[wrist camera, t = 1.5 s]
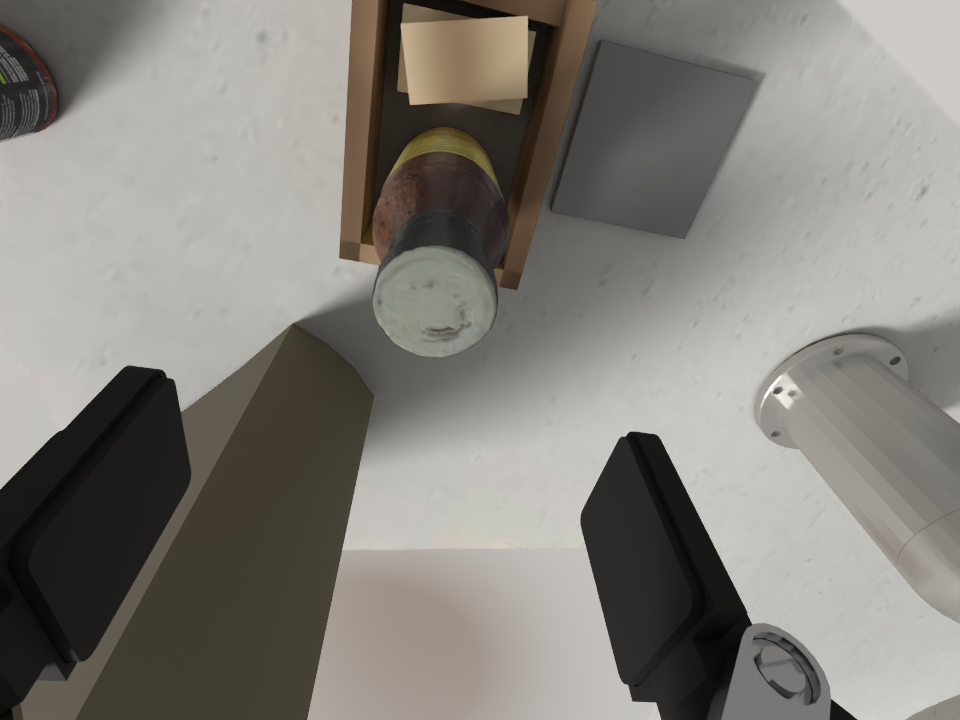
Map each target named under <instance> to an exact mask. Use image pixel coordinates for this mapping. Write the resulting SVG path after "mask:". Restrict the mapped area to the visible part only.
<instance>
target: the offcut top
mask: <svg viewBox="0 0 960 720" xmlns="http://www.w3.org/2000/svg"><path fill="white" fill-rule="evenodd" d="M400 25H401V33H402V42H403V50H404V59H405V67H406V76H407V84H408V93H409V101H410V105H419V104H435V103H452V102H469V101H485V100H502V99H518V98H527V80H528V16H518V17H501V18H485V19H468V20H452V21H435V22H418V23H402V24H400Z"/></svg>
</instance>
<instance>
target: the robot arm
mask: <svg viewBox="0 0 960 720" xmlns="http://www.w3.org/2000/svg"><path fill="white" fill-rule="evenodd" d="M908 376H909V365H908V362H907V360H906V357H905V356H904V354H903V353H902V352H901V351H900V350H899V349H898V348H897V347H895V346H894V345H893V344H891V343H890V342H889V341H887V340H885V339H882V338H880V337H878V336H873V335H867V334H849V335H843V336H837V337H833V338H830V339H827V340H823V341H820V342H818V343H816V344H813V345H811V346H809V347H807V348H805V349H803V350H801V351H800V352H798V353H796V354H795V355H793V356H792V357H790V358H789V359H788V360H786V361H785V362H784V363H783V364H781V365H780V366H779V367H778V368H777V369H776V370H775V371H774V372H773V373H772V374H771V375H770V376H769V378H768V379H767V381H766V382H765V383H764V385H763V386H762V388H761V390H760V392H759V394H758V396H757V399H756V403H755V419H756V422H757V425H758V426H759V427H760V429H761V430H762V432H763V433H764V434H765V436H766V437H767V438H768V439H769V440H771V441H772V442H774V443H776V444H778V445H781V446H784V447H786V448H793V449H799V450H800V451H801V452H802V453H803V454H804V456H805V457H806V458H807V459H808V461H809V462H810V463H811V464H812V466H813V467H814V468H815V469H816V471H817V472H818V473H819V474H820V475H821V477H822V478H823V479H824V480H825V482H826V483H827V484H828V485H829V487H830V488H831V489H832V490H833V492H834V493H835V494H836V495H837V496H838V498H839V499H840V500H841V501H842V503H843V504H844V505H845V506H846V508H847V509H848V510H849V511H850V513H851V514H852V515H853V516H854V517H855V519H856V520H857V521H858V522H859V524H860V525H861V526H862V527H863V529H864V530H865V531H866V532H867V534H868V535H869V536H870V537H871V538H872V540H873V541H874V542H875V543H876V545H877V546H878V547H879V548H880V550H881V551H882V552H883V553H884V554H885V556H886V557H887V558H888V559H889V561H890V562H891V563H892V564H893V565H894V567H895V568H896V569H897V570H898V571H899V573H900V574H901V575H902V576H903V578H904V579H905V580H906V581H907V582H908V584H909V585H910V586H911V587H912V589H913V590H914V591H915V592H916V593H917V594H918V595H919V596H920V597H921V598H922V599H923V600H924V601H925V602H927V603H928V604H929V605H930V606H931V607H933V608H934V609H936V610H937V611H938V612H940V613H941V614H943V615H944V616H946V617H948V618H950V619H952V620H954V621H955V622H957V623H960V423H958V422H957V421H956V420H955V419H953V418H952V417H951V416H950V415H948V414H947V413H946V412H944V411H943V410H942V409H941V408H939V407H938V406H937V405H935V404H934V403H933V402H932V401H930V400H929V399H928V398H927V397H925V396H924V395H923V394H921V393H920V392H919V391H918V390H916V389H915V388H914V387H913V386H911V385H910V384H909V383H907V380H908ZM190 480H191V466H190V461H189V455H188V450H187V444H186V439H185V434H184V428H183V423H182V417H181V412H180V407H179V401H178V396H177V390H176V385H175V382H174V380H173V379H170V378H167V377H166V374H165V372H164V371H163V370H159V369H152V368H144V367H136V366H126V367H125V368H123V369H122V370H121V371H120V372H119V373H118V374H117V375H116V376H115V377H114V378H113V379H112V380H111V381H110V382H109V383H108V384H107V385H106V386H105V388H104V389H103V390H102V391H101V392H100V393H99V394H98V395H97V396H96V397H95V398H94V399H93V400H92V401H91V402H90V403H89V404H88V405H87V406H86V407H85V408H84V409H83V410H82V411H81V412H80V413H79V414H78V416H77V417H76V418H75V419H74V420H73V421H72V422H71V423H70V424H69V425H68V426H67V427H66V428H65V429H64V430H62V431H59V432H58V433H56V434H55V435H54V436H53V437H52V438H50V440H48V441H47V443H45V445H44V446H43V447H42V448H41V449H40V450H39V451H38V452H37V453H36V454H35V455H34V456H33V457H32V458H31V459H30V460H29V461H28V462H27V463H26V464H25V465H24V466H23V467H22V468H21V469H20V470H19V471H18V472H17V473H16V474H15V475H14V476H13V477H12V478H11V479H10V480H9V481H8V482H7V483H6V484H5V486H3V487H2V489H1V490H0V720H23V716H22V710H21V704H20V703H21V702H23V701H24V699H25V697H26V696H27V694H28V693H29V691H30V690H31V688H32V686H33V685H34V683H35V682H36V680H43V681H67V679H68V678H69V676H70V674H71V673H72V671H73V669H74V668H75V666H76V664H77V663H78V662H84V661H86V660H87V659H88V658H89V657H90V656H91V655H92V654H93V652H94V651H95V649H96V648H97V646H98V644H99V642H100V641H101V639H102V637H103V635H104V634H105V632H106V630H107V628H108V627H109V625H110V623H111V621H112V620H113V618H114V616H115V614H116V613H117V611H118V609H119V607H120V606H121V604H122V602H123V601H124V599H125V597H126V595H127V594H128V592H129V590H130V588H131V587H132V585H133V583H134V581H135V580H136V578H137V576H138V574H139V573H140V571H141V569H142V567H143V566H144V564H145V562H146V560H147V559H148V557H149V555H150V553H151V552H152V550H153V548H154V546H155V545H156V543H157V541H158V540H159V538H160V536H161V534H162V533H163V531H164V529H165V527H166V526H167V524H168V522H169V520H170V519H171V517H172V515H173V513H174V512H175V510H176V508H177V506H178V505H179V503H180V501H181V499H182V498H183V496H184V494H185V492H186V491H187V489H188V487H189V484H190ZM581 528H582V532H583V536H584V540H585V544H586V548H587V552H588V556H589V560H590V564H591V567H592V571H593V575H594V579H595V583H596V587H597V591H598V595H599V599H600V603H601V606H602V610H603V614H604V618H605V622H606V626H607V630H608V634H609V638H610V641H611V646H612V649H613V653H614V657H615V661H616V665H617V669H618V673H619V676H620V678H621V680H622V682H623V683H624V684H628V686H629V689H630V693H631V697H632V701H636V702H656V703H657V706H658V710H659V713H660V716H661V720H857V719H856V718H855V717H853V716H852V715H851V714H850V713H848V712H847V711H846V710H844V709H843V708H842V707H841V706H839V705H838V704H837V703H836V702H834V701H833V700H832V699H831V695H830V686H829V684H828V681H827V679H826V676H825V674H824V671H823V670H822V668H821V667H820V665H819V664H818V662H817V660H816V659H815V657H814V656H813V655H812V654H811V653H810V652H809V651H808V650H807V648H806V647H805V646H804V645H803V644H802V643H801V642H799V641H798V640H797V639H796V638H794V637H793V636H792V635H791V634H789V633H787V632H785V631H784V630H782V629H780V628H778V627H776V626H772V625H769V624H766V623H761V624H753V625H752V623H751V621H750V619H749V617H748V615H747V611H746V609H745V607H744V605H743V603H742V601H741V599H740V597H739V595H738V593H737V591H736V589H735V587H734V585H733V583H732V581H731V579H730V577H729V575H728V573H727V571H726V569H725V567H724V565H723V563H722V561H721V559H720V557H719V555H718V553H717V551H716V549H715V547H714V545H713V543H712V541H711V539H710V537H709V535H708V533H707V531H706V529H705V527H704V525H703V523H702V521H701V519H700V517H699V515H698V513H697V511H696V509H695V507H694V505H693V503H692V501H691V499H690V497H689V495H688V493H687V491H686V489H685V487H684V485H683V483H682V481H681V479H680V477H679V475H678V473H677V471H676V469H675V467H674V465H673V463H672V461H671V459H670V457H669V455H668V453H667V451H666V449H665V447H664V445H663V443H662V441H661V440H660V438H659V437H658V436H657V435H655V434H648V433H641V432H629V433H628V434H627V436H626V437H621V438H620V439H619V440H618V442H617V444H616V446H615V448H614V450H613V452H612V454H611V456H610V458H609V460H608V461H607V463H606V465H605V467H604V469H603V471H602V473H601V475H600V477H599V479H598V481H597V483H596V485H595V487H594V489H593V491H592V493H591V494H590V496H589V498H588V500H587V502H586V504H585V506H584V508H583V510H582V513H581ZM906 720H960V695H957V696H955V697H952V698H950V699H947V700H945V701H942V702H940V703H938V704H936V705H933V706H931V707H928V708H926V709H924V710H922V711H920V712H918V713H916V714H914V715H912V716H910V717H909V718H908V719H906Z"/></svg>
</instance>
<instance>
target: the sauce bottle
mask: <svg viewBox="0 0 960 720" xmlns="http://www.w3.org/2000/svg"><path fill="white" fill-rule="evenodd" d="M372 230H373V242H374V247H375V250H376V253H377V256H378V257H379V259H380V262H381V264H380V266H379V270H378V273H377V277H376V280H375V284H374V289H373V297H372V302H373V310H374V313H375V317H376V319H377V321H378V323H379V325H380V326H381V327H382V329H383V331H384V332H385V333H386V334H387V335H388V336H389V338H390V339H391V340H392V341H393V342H394V343H395V344H397V345H398V346H400V347H401V348H403V349H405V350H407V351H410V352H412V353H415V354H417V355H420V356H427V357H446V356H450V355H453V354H457V353H460V352H462V351H464V350H467V349H469V348H470V347H472V346H473V345H475V344H476V343H478V342H479V341H480V340H482V338H483V337H484V336H485V335H486V333H487V332H488V331H489V330H490V329H491V327H492V325H493V323H494V321H495V318H496V314H497V305H498V294H497V282H496V277H495V273H494V269H495V268H496V267H497V265H498V264H499V262H500V261H501V259H502V257H503V255H504V253H505V250H506V247H507V244H508V239H509V217H508V212H507V209H506V205H505V202H504V199H503V196H502V193H501V190H500V186H499V184H498V181H497V179H496V175H495V173H494V170H493V167H492V164H491V161H490V159H489V157H488V155H487V153H486V151H485V150H484V148H483V147H482V146H481V145H480V143H479V142H478V141H476V140H475V139H474V138H473V137H471V136H470V135H468V134H467V133H465V132H463V131H460V130H458V129H454V128H449V127H438V128H433V129H429V130H426V131H423V132H421V133H420V134H419V135H417V136H416V137H414V138H413V139H412V140H411V141H410V142H409V143H408V144H407V145H406V147H405V148H404V150H403V151H402V153H401V155H400V157H399V158H398V160H397V162H396V164H395V165H394V167H393V169H392V171H391V173H390V175H389V176H388V178H387V180H386V182H385V184H384V186H383V188H382V190H381V196H380V198H379V200H378V203H377V205H376V207H375V210H374V215H373V228H372Z"/></svg>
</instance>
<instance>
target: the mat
mask: <svg viewBox="0 0 960 720" xmlns="http://www.w3.org/2000/svg"><path fill="white" fill-rule="evenodd" d="M757 83H758V81H754V80H750V79H747V78H743V77H739V76H735V75H731V74H728V73H724V72H720V71H716V70H713V69H709V68H705V67H701V66H698V65H694V64H690V63H686V62H682V61H679V60H675V59H671V58H667V57H664V56H660V55H656V54H652V53H649V52H645V51H641V50H637V49H634V48H630V47H626V46H622V45H618V44H615V43H611V42H607V41H603V40H600V41H599V44H598V47H597V51H596V54H595V58H594V61H593V64H592V68H591V71H590V75H589V78H588V82H587V85H586V88H585V92H584V95H583V99H582V102H581V105H580V109H579V112H578V116H577V119H576V122H575V126H574V129H573V133H572V136H571V139H570V143H569V146H568V150H567V153H566V157H565V160H564V163H563V167H562V170H561V174H560V177H559V180H558V184H557V187H556V191H555V194H554V197H553V201H552V204H551V208H550V210H551V211H552V212H556V213H561V214H566V215H571V216H576V217H580V218H585V219H590V220H595V221H600V222H605V223H610V224H614V225H619V226H624V227H629V228H634V229H639V230H643V231H648V232H653V233H658V234H663V235H668V236H673V237H677V238H682V239H685V237H686V235H687V233H688V231H689V229H690V227H691V224H692V222H693V220H694V218H695V216H696V214H697V212H698V209H699V207H700V205H701V203H702V201H703V199H704V197H705V194H706V192H707V190H708V188H709V186H710V184H711V182H712V179H713V177H714V175H715V173H716V171H717V169H718V167H719V164H720V162H721V160H722V158H723V156H724V154H725V152H726V149H727V147H728V145H729V143H730V141H731V139H732V137H733V134H734V132H735V130H736V128H737V126H738V124H739V122H740V120H741V117H742V115H743V113H744V111H745V109H746V107H747V105H748V102H749V100H750V98H751V96H752V94H753V92H754V90H755V87H756V85H757Z"/></svg>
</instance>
